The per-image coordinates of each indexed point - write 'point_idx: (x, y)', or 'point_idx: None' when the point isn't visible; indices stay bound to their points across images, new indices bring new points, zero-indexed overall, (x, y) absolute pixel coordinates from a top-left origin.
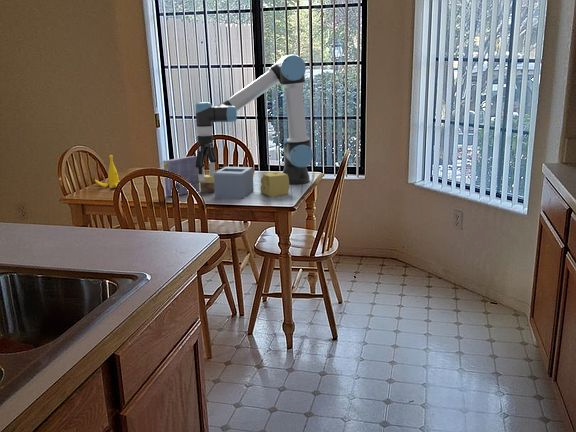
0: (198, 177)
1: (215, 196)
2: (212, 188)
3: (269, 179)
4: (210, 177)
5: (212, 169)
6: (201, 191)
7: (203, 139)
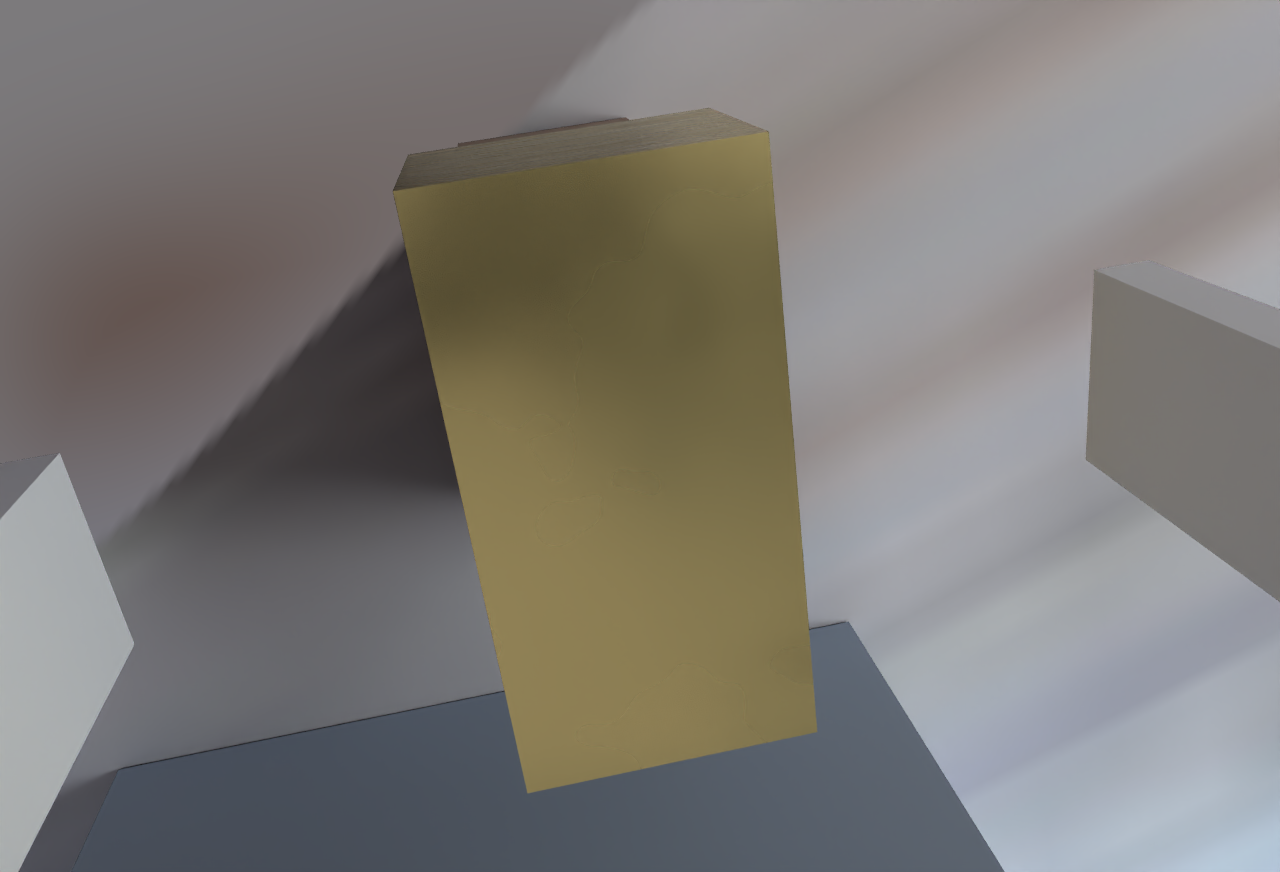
0: (400, 186)
1: (115, 797)
2: None
3: None
4: (504, 685)
5: (1242, 485)
6: None
7: None
